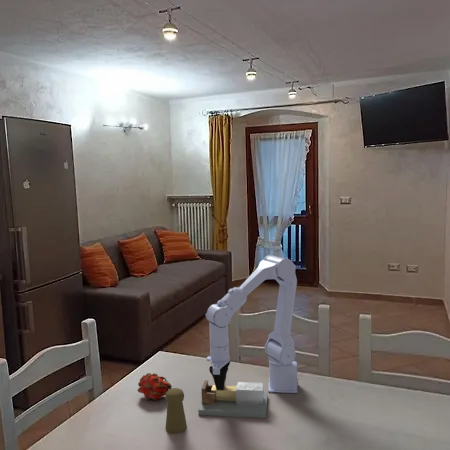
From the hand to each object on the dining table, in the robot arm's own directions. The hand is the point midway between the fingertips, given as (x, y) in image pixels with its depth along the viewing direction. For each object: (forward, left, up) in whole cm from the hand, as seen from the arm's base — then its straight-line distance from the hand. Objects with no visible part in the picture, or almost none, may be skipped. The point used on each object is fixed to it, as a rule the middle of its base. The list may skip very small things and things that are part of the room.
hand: (220, 386), depth 133 cm
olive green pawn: (+11, +13, -6) cm, 18 cm away
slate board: (-4, 0, -6) cm, 7 cm away
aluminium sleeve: (-9, 0, -4) cm, 10 cm away
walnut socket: (+3, 0, -4) cm, 6 cm away
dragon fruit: (+22, -3, -6) cm, 23 cm away
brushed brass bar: (-3, 0, -4) cm, 6 cm away
